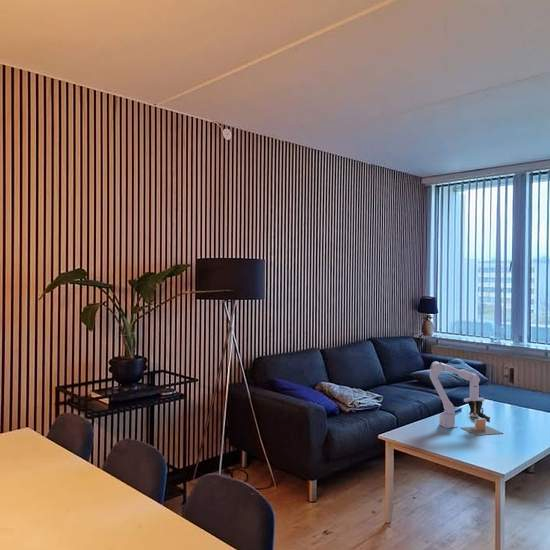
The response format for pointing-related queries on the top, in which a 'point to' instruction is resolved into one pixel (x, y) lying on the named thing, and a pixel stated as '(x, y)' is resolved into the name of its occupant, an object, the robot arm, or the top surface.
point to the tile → (480, 424)
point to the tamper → (474, 411)
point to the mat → (481, 431)
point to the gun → (480, 412)
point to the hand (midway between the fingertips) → (474, 412)
